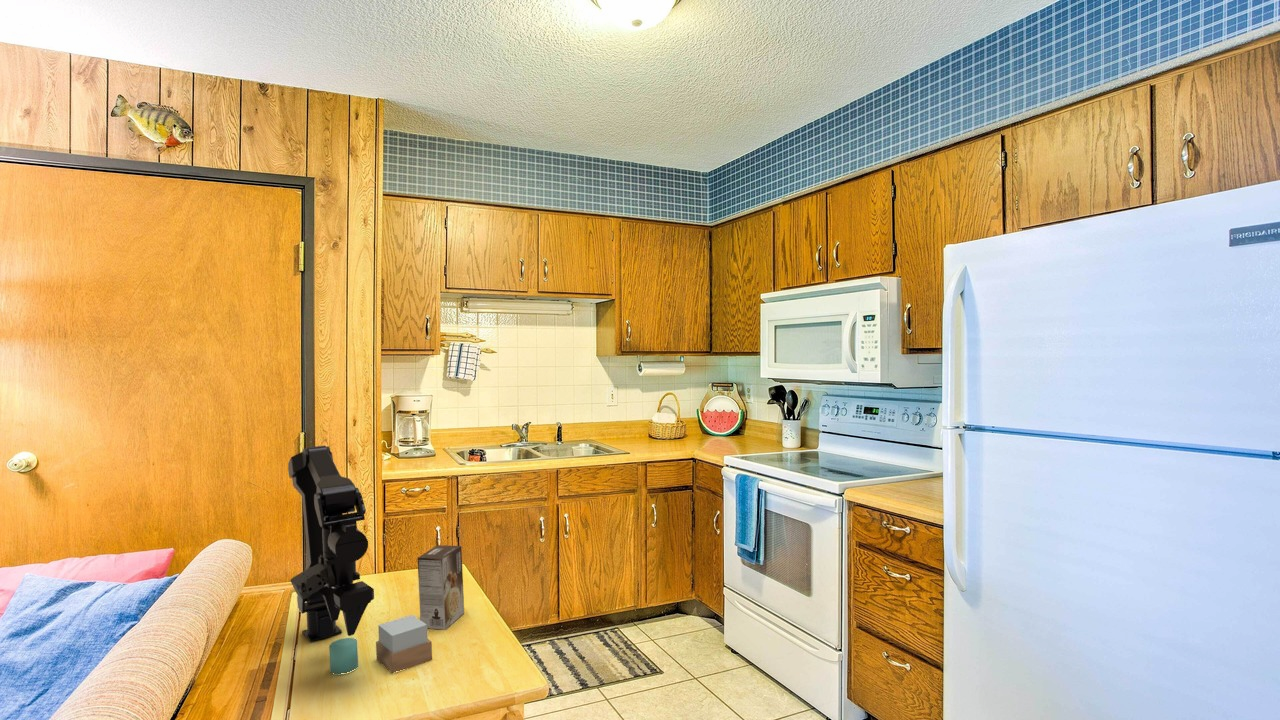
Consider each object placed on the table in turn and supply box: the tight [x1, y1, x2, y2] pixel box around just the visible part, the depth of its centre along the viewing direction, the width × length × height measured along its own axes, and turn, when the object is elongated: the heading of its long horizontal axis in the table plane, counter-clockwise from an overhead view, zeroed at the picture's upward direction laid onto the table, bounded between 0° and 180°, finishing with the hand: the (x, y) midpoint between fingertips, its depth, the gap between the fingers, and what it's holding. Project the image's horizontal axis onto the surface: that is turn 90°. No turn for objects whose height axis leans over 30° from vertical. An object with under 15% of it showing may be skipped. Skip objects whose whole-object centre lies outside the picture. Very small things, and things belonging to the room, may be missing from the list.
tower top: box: [378, 614, 429, 654], centre depth 135 cm, size 7×7×4 cm
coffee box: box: [416, 544, 465, 630], centre depth 153 cm, size 9×6×16 cm
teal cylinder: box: [328, 637, 359, 674], centre depth 132 cm, size 5×5×5 cm
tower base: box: [375, 638, 433, 674], centre depth 135 cm, size 8×8×4 cm
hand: (342, 627), depth 132 cm, fingers open, 9 cm apart
